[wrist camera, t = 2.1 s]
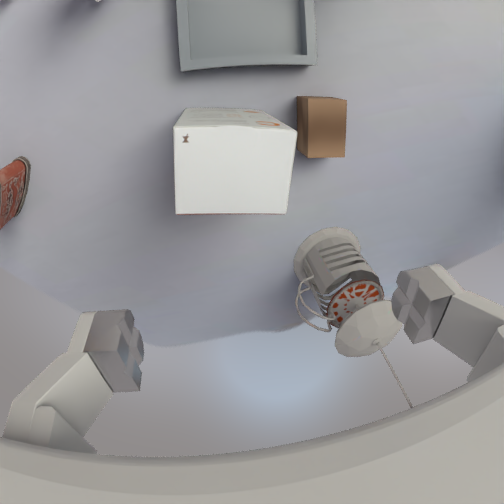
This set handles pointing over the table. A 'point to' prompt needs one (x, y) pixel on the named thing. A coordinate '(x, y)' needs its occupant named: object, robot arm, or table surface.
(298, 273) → the french press
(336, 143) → the walnut block
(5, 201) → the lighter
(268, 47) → the slate tray
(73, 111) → the table surface
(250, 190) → the small box
